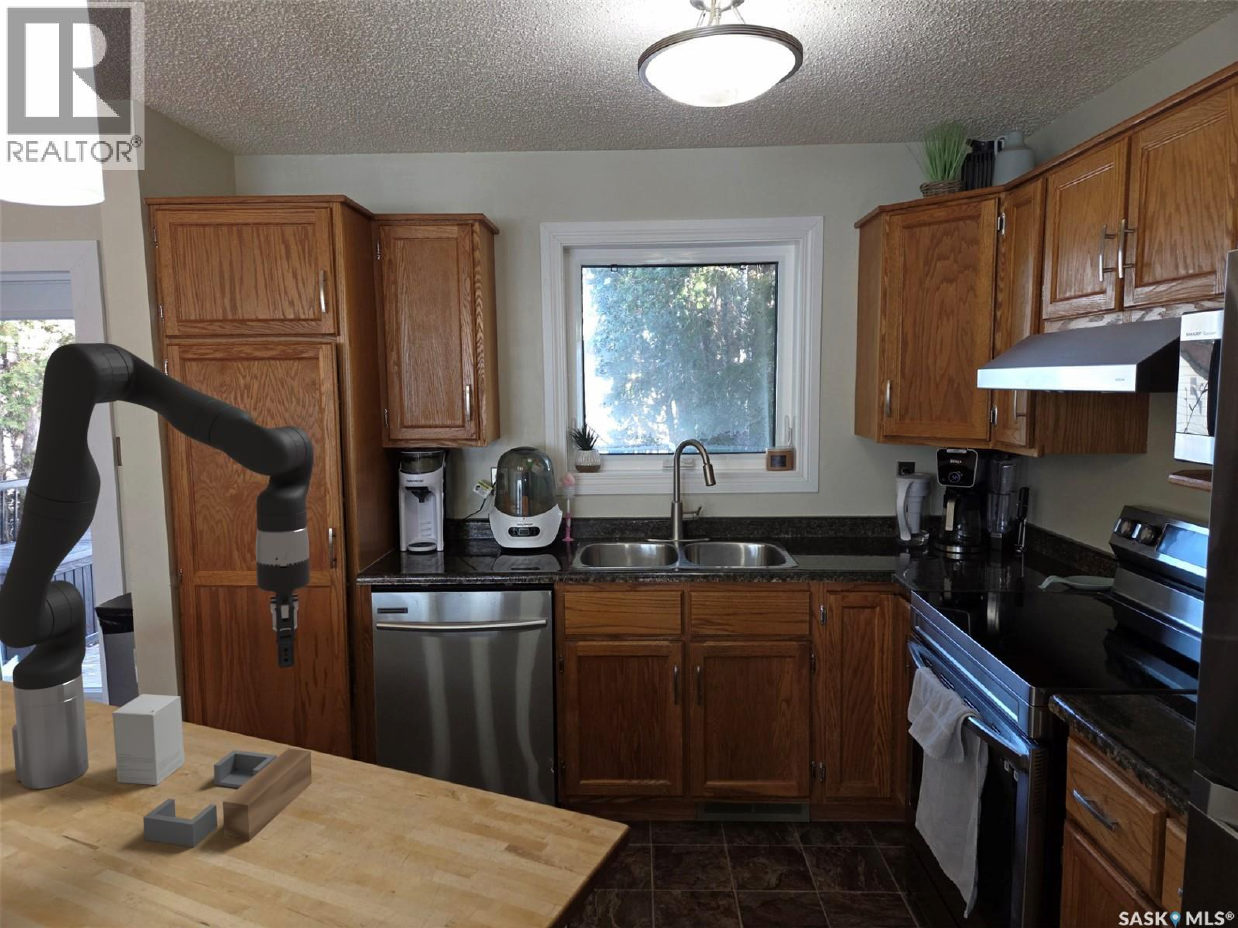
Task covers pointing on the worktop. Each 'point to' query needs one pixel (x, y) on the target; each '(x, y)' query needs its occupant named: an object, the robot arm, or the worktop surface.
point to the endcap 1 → (178, 825)
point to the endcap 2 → (240, 767)
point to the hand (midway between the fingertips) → (285, 656)
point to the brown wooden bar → (266, 794)
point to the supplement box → (148, 739)
